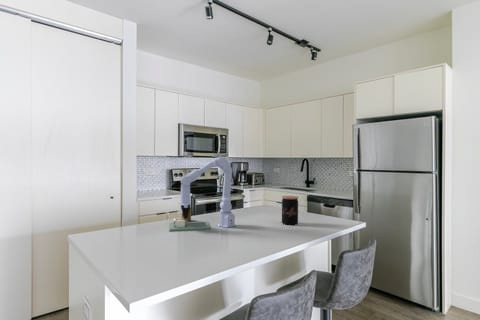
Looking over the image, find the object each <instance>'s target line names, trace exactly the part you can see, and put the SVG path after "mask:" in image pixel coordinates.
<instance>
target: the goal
mask: <svg viewBox="0 0 480 320" xmlns="http://www.w3.org/2000/svg"><path fill="white" fill-rule="evenodd" d="M178 219H181V220H178ZM173 223H174V228H176V227H185V220H183V218H182V217H174V218H173Z"/></svg>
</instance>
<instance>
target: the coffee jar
mask: <svg viewBox="0 0 480 320" xmlns="http://www.w3.org/2000/svg"><path fill="white" fill-rule="evenodd" d="M281 198H282V199H281V223H282V225H284V224H285V226H297V225H298V223H299V200H298V199H299V197H298V196H297V195H283V196H281Z"/></svg>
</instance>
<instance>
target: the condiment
mask: <svg viewBox="0 0 480 320" xmlns="http://www.w3.org/2000/svg"><path fill="white" fill-rule="evenodd" d="M189 205H190V206H189V207H190V210H189V213H188V220H187V222H195V219H192V208H191V203H190V204H189ZM181 218H183V212H182V211H181Z"/></svg>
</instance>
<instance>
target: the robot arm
mask: <svg viewBox="0 0 480 320" xmlns="http://www.w3.org/2000/svg"><path fill="white" fill-rule="evenodd" d="M217 167H218V168H220V169H221V170H222V171H223V172H224V173H223V174H224V175H223V185H222V186H223V187H222V197H221V201H220V203H219V207H220V210H219V223H218V224H216V225H217V226H218V227H219V226H220V227H223V228H226V229H227V228H231V227H235V226H236V224H235V221H236V220H235V219H236V217H235V214H234V213H233V212H232V207H233V206H232V203H231V201H232V200H231V192H232V191H231V190H232V179H233V177H232V176H233V169H232V166H231V164H230V163H229V160H227V158H226V157H224V156H222V157H220V156H218V157H216V158H214V159H213V160H211V161H209V162H207V163H206V164H205V165H203V166H202V167H200V168H199V169H197V168H195V169H194V168H193V169H192V170H191V171H190V172H189V173H186V174H185V176H182V177H181V178H180V183H181V184H180V202H178V204H179V205H180V210H181V213H182V212H183V217H184V219H187V218H188V213H189V210H190V207H191V184H192V183H193V182H195V181H197V180H198V179H199V178H200V177H201V178H202V174H203V173H205V172H206V171H209V170H210V169H212V168H217ZM189 204H190V205H189ZM189 206H190V207H189Z"/></svg>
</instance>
